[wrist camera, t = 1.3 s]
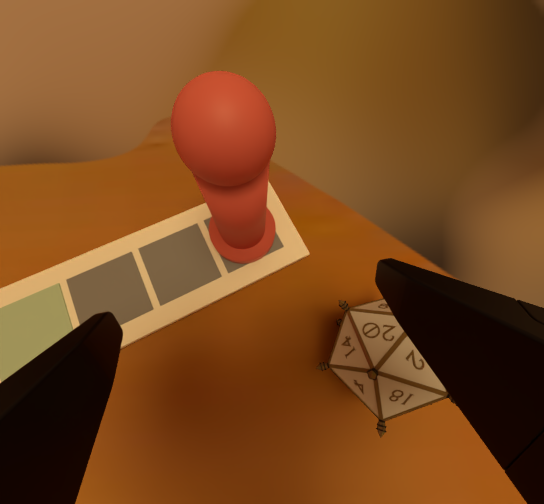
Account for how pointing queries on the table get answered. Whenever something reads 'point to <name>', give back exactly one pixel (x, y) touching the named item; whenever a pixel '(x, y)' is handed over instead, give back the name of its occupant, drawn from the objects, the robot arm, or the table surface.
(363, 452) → the table surface
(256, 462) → the table surface
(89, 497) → the table surface
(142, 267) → the board
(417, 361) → the game die
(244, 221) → the pawn
